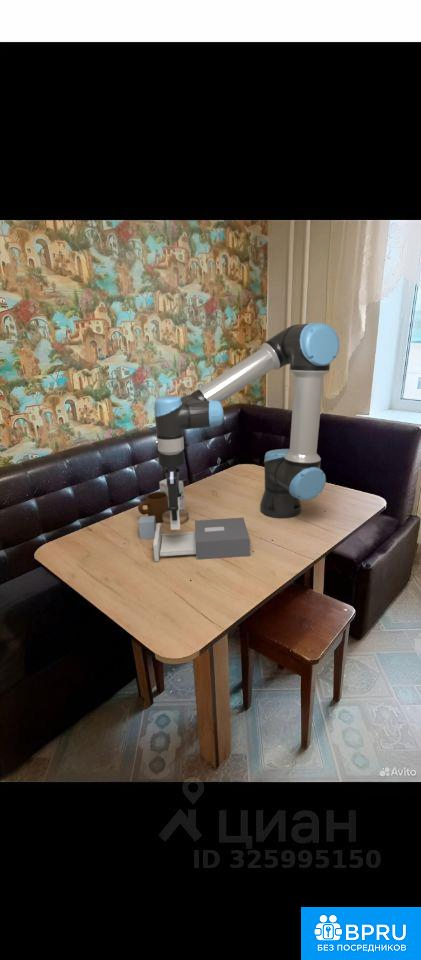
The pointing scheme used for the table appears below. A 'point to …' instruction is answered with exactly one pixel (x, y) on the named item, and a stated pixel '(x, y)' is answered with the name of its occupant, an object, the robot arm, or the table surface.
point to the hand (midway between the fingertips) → (176, 522)
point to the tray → (173, 543)
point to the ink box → (181, 490)
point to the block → (147, 527)
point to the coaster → (182, 514)
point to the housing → (221, 538)
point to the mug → (155, 506)
